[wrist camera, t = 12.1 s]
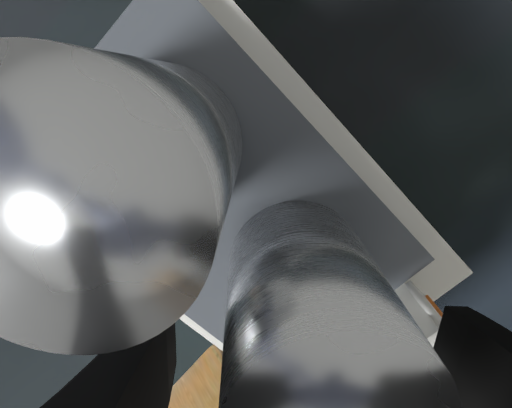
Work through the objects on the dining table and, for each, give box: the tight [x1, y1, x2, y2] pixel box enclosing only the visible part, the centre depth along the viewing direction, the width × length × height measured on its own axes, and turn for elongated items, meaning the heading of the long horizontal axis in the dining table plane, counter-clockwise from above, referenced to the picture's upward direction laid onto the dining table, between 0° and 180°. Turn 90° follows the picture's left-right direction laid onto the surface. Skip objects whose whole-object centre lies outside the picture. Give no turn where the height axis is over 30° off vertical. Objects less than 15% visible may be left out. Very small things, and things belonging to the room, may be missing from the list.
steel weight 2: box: [219, 201, 462, 408], centre depth 9 cm, size 4×4×6 cm
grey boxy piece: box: [94, 0, 473, 351], centre depth 12 cm, size 14×9×5 cm, turn 45°
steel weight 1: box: [0, 37, 243, 355], centre depth 8 cm, size 4×4×6 cm
